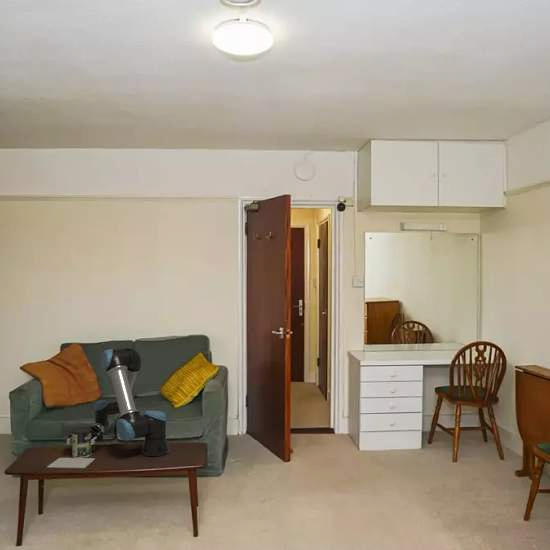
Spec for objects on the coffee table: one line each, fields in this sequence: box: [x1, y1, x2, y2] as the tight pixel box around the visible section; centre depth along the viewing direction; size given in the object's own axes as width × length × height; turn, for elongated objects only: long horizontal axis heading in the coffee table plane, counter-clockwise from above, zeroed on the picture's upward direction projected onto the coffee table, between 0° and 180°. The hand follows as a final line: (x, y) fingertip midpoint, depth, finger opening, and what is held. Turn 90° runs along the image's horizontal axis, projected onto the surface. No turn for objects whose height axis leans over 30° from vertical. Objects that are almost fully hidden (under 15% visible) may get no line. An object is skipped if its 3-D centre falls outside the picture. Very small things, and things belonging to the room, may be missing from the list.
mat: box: [46, 457, 96, 469], centre depth 280 cm, size 20×14×1 cm
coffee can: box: [71, 427, 92, 458], centre depth 293 cm, size 10×10×14 cm
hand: (79, 442), depth 290 cm, fingers open, 13 cm apart
